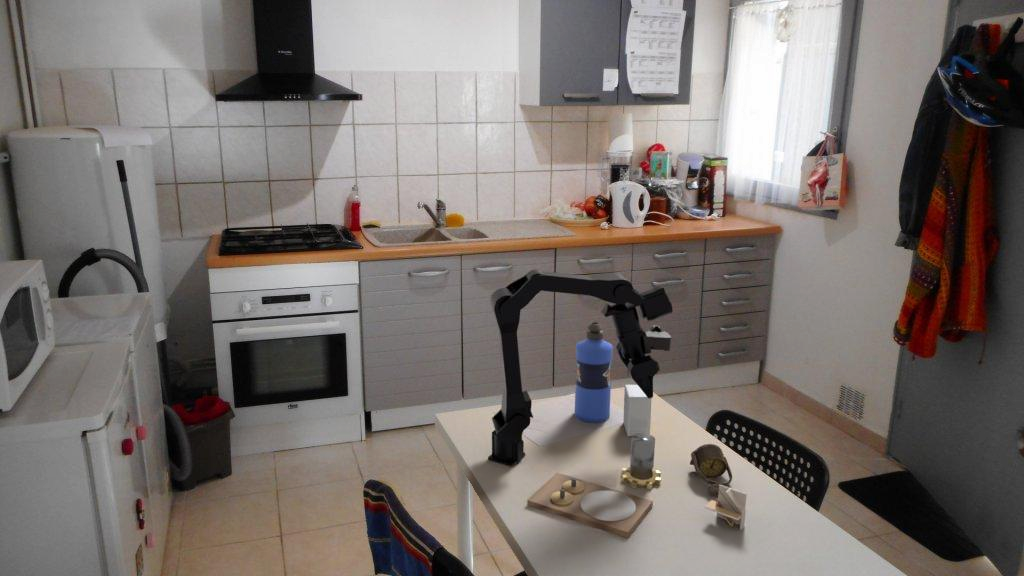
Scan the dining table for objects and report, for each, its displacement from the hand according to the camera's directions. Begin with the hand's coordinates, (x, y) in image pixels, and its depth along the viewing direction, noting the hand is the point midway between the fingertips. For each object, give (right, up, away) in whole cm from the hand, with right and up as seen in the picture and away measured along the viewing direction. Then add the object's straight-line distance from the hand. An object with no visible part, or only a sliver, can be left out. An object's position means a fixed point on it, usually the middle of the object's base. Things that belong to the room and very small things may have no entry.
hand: (646, 390), depth 173 cm
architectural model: (+12, -23, -24) cm, 36 cm away
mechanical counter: (+12, -19, -9) cm, 24 cm away
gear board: (-15, -21, -19) cm, 32 cm away
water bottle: (-10, -10, +23) cm, 27 cm away
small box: (0, -12, +15) cm, 19 cm away
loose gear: (-3, -18, -8) cm, 20 cm away
